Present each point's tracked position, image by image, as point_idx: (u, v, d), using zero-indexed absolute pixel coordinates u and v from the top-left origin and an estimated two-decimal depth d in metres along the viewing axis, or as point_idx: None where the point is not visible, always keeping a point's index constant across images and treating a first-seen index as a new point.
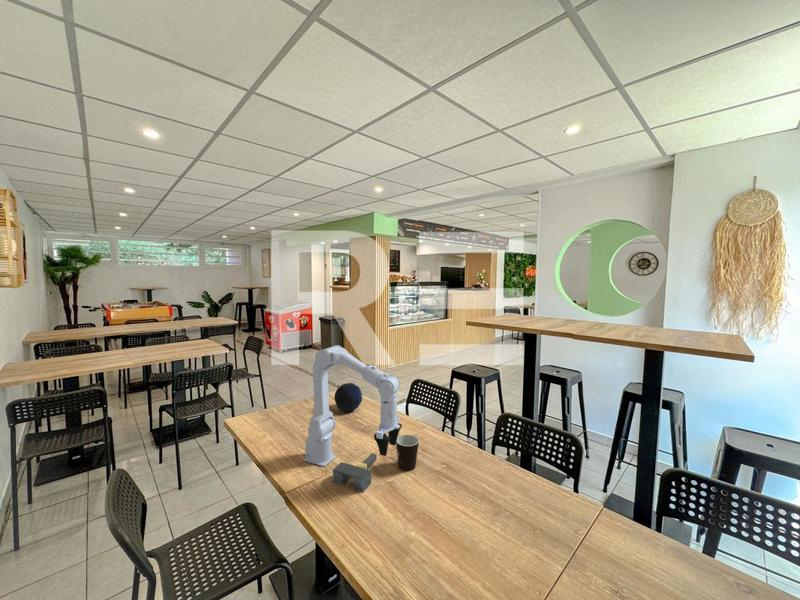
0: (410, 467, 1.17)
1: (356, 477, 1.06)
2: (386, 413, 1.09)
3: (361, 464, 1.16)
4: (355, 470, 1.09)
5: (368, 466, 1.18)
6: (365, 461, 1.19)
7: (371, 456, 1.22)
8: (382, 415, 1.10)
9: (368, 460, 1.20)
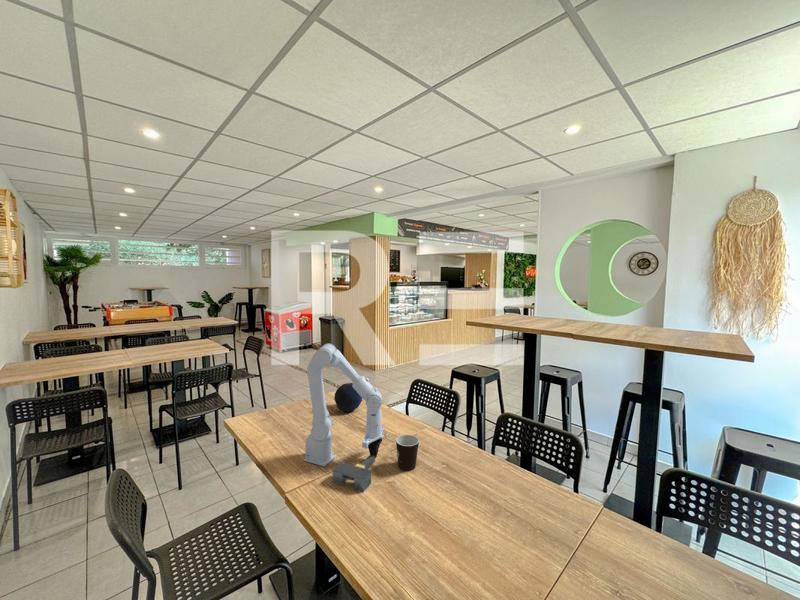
0: (410, 467, 1.17)
1: (356, 477, 1.06)
2: (374, 424, 1.20)
3: (359, 466, 1.14)
4: (355, 470, 1.09)
5: (366, 468, 1.17)
6: (363, 463, 1.18)
7: (370, 457, 1.21)
8: (368, 426, 1.21)
9: (366, 461, 1.19)
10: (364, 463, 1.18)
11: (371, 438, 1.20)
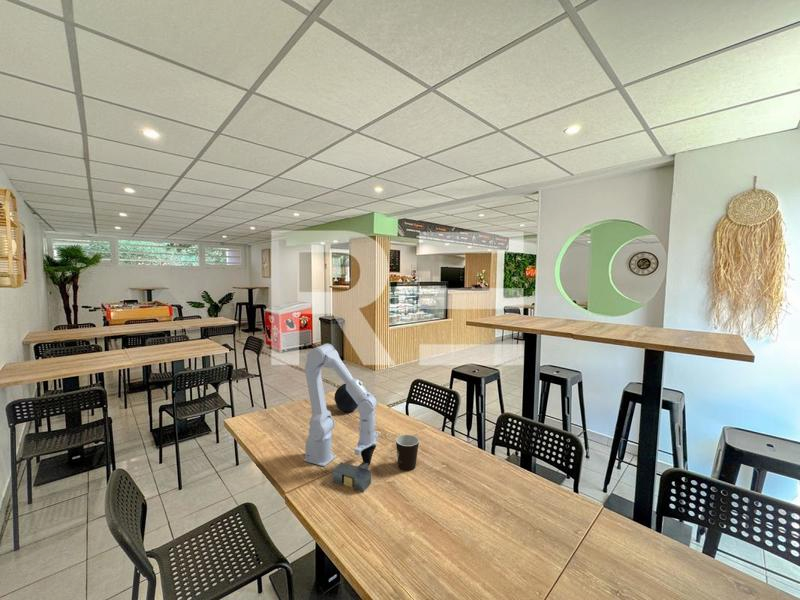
0: (410, 467, 1.17)
1: (356, 477, 1.06)
2: (365, 430, 1.15)
3: None
4: (355, 470, 1.09)
5: None
6: None
7: (362, 465, 1.16)
8: (361, 432, 1.16)
9: None
10: None
11: (364, 445, 1.16)
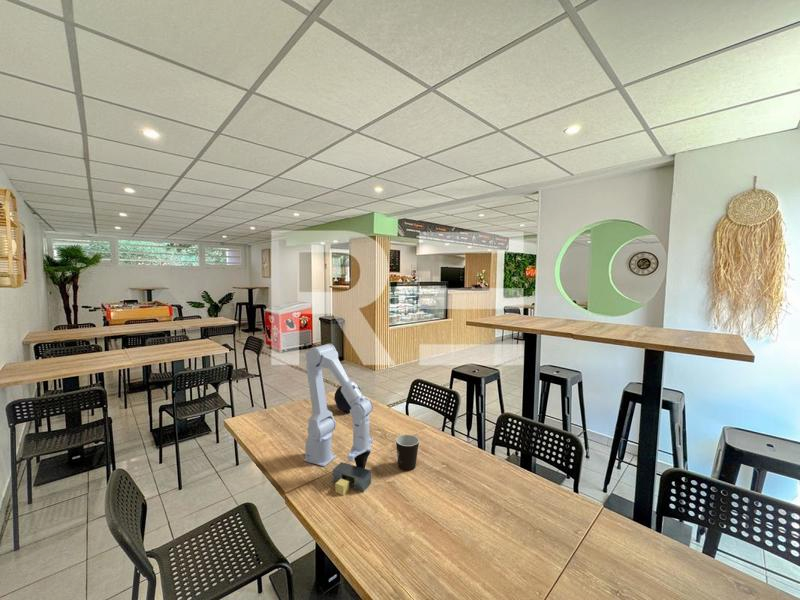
0: (410, 467, 1.17)
1: (356, 477, 1.06)
2: (357, 436, 1.12)
3: (343, 481, 1.06)
4: (355, 470, 1.09)
5: (351, 483, 1.08)
6: (348, 477, 1.09)
7: None
8: (354, 437, 1.12)
9: None
10: (349, 478, 1.09)
11: (358, 450, 1.12)
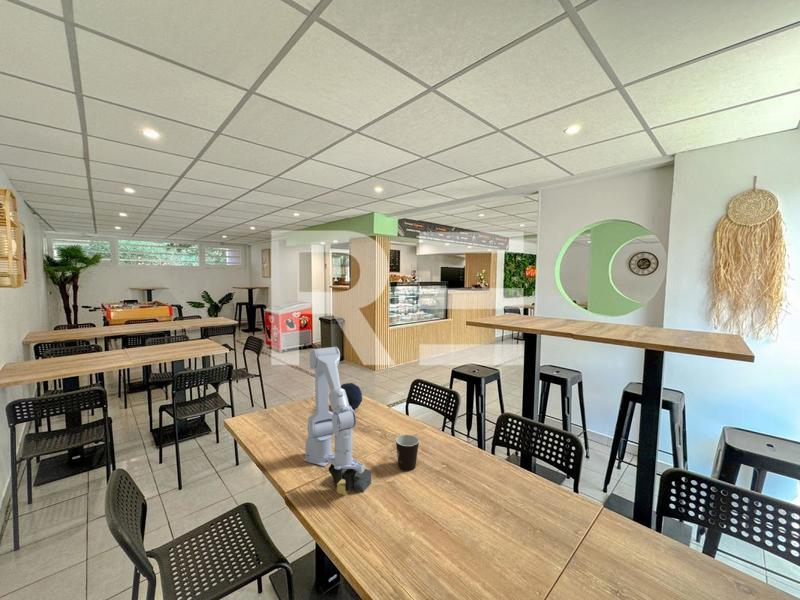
0: (410, 467, 1.17)
1: (356, 477, 1.06)
2: (335, 448, 1.02)
3: (344, 481, 1.06)
4: None
5: (352, 483, 1.08)
6: None
7: None
8: None
9: None
10: None
11: (334, 460, 1.05)
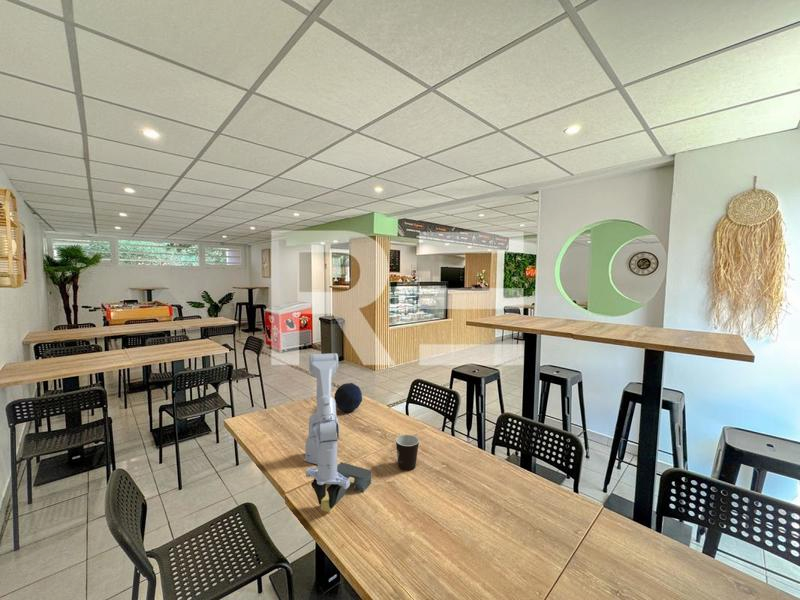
0: (410, 467, 1.17)
1: (356, 477, 1.06)
2: (317, 461, 0.95)
3: None
4: (355, 470, 1.09)
5: (338, 499, 1.00)
6: None
7: None
8: None
9: None
10: None
11: (317, 474, 0.97)
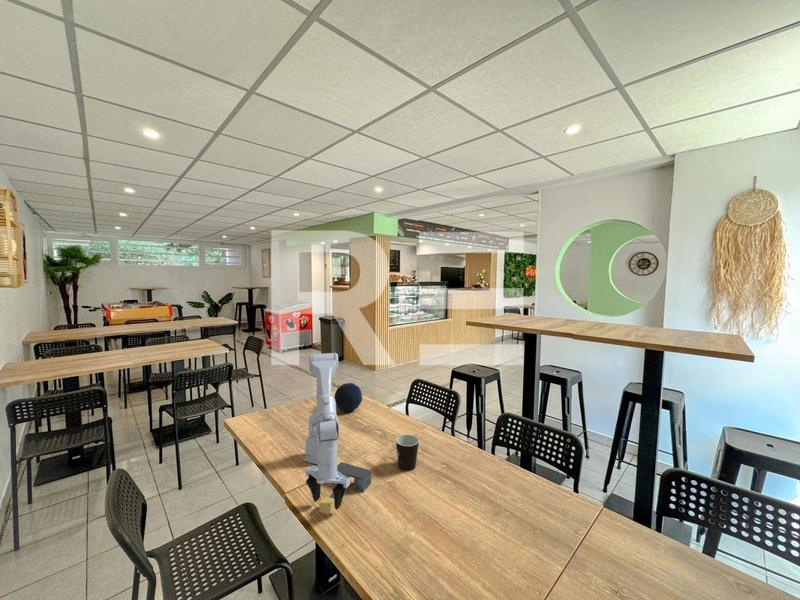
0: (410, 467, 1.17)
1: (356, 477, 1.06)
2: (317, 460, 0.95)
3: (327, 499, 0.97)
4: (355, 470, 1.09)
5: None
6: (333, 494, 1.00)
7: None
8: None
9: None
10: None
11: (317, 473, 0.97)
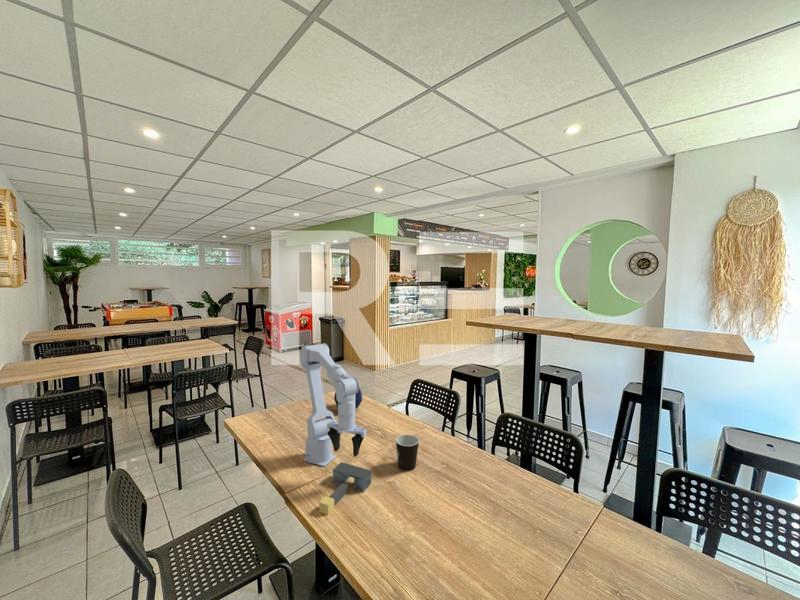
0: (410, 467, 1.17)
1: (356, 477, 1.06)
2: (339, 414, 1.06)
3: (327, 499, 0.97)
4: (355, 470, 1.09)
5: (336, 500, 1.00)
6: (333, 494, 1.00)
7: (341, 487, 1.04)
8: None
9: (337, 493, 1.01)
10: (334, 495, 1.00)
11: (338, 425, 1.09)
